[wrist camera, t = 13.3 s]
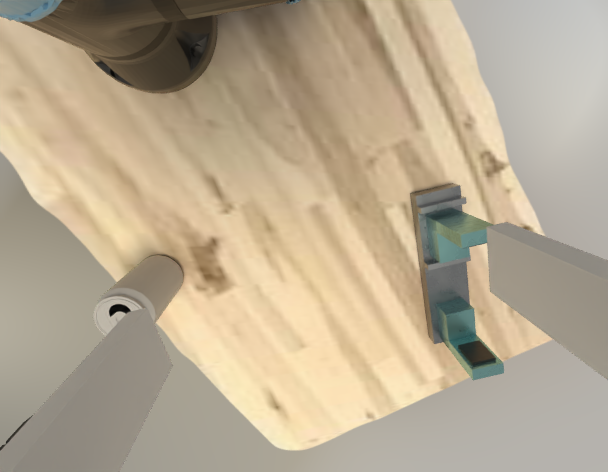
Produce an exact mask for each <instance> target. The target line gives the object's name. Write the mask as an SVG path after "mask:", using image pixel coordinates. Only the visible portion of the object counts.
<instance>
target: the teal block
mask: <svg viewBox="0 0 608 472" xmlns="http://www.w3.org/2000/svg"><path fill="white" fill-rule="evenodd" d="M426 223H427V231H428V240H429V249H430V256H432V257H433V258H434V259H435V260H436V261H438V262H439V263H445V262H449V261H453V260H457V259H462V258H466V257H470V252H469V247H472V246H476V245H480V244H485V243H487V228H486V227H488V226H492V225H493V224H490V223H488V222H486V221H483V220H481V219H478V218H476V217H474V216H471V215H469V214H466V213H464V212H462V211H459V210H457V209H451V210H446V211H442V212H438V213H434V214H430V215H426Z"/></svg>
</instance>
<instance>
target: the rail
mask: <svg viewBox="0 0 608 472" xmlns="http://www.w3.org/2000/svg"><path fill="white" fill-rule="evenodd" d="M410 195H411V203H412V211H413V219H414V226H415V234H416V242H417V249H418V257H419V265H420V272H421V280H422V288H423V295H424V303H425V311H426V318H427V326H428V334H429V337H430V339H431V340H432V341H433V343H434V344H437V343H441V342H444V343H445V344H446V346H447V347H448V348H449V350H450V351H451V352H452V354H453V355H454V356H455V357H456V359H457V360H458V361H459V363H460V364H461V365H462V367H463V368H464V369H465V370H466V372H467V373H468V374H469V376H470V377H471V378H472V380H476V379H480V378H485V377H488V376H493V375H498V374H502V373H504V366H503V362H502V361H501V360H500V359H499V358H498V357H497V356H496V355H495V354H494V353H493V352H492V351H491V350H490V349H489V348H488V347H487V346H486V345H485V343H484V342H483V341H482V340H481V339H480V338H479V337H478V336H477V335H476V330H475V316H474V308H473V307H472V306H471V305H470V303H469V290H468V278H467V265H466V261H471V259H470V257H466V258H462V259H457V260H453V261H449V262H445V263H439V262H438V261H436V260H435V259H434V258H433V257H432V256H430V249H429V240H428V231H427V223H426V215H430V214H434V213H438V212H442V211H446V210H451V209H457V210H459V211H462V204H466V197H462V196H461V190H460V185H457V184H453V183H452V184H448V185H444V186H440V187H436V188H432V189H427V190H423V191H419V192H415V193H411V194H410Z"/></svg>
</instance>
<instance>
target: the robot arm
mask: <svg viewBox="0 0 608 472" xmlns="http://www.w3.org/2000/svg"><path fill="white" fill-rule="evenodd" d="M299 1H301V0H0V17H3V18H7V19H8V20H10V21H11V20H15V21H17V22H21V23H23V24H25V25H28V26H30V27H32V28H35V29H37V30H39V31H42V32H44V33H46V34H49V35H51V36H53V37H56V38H58V39H60V40H63V41H65V42H67V43H70V44H72V45H74V46H76V47H79V48H81V49H83V50H84V51H85V52H86V53H87V54H88V55H89V57H90V58H91V59H92V60H93V61H94V62H95V63H96V65H97V66H98V67H100V68H101V69H102V70H103V71H104V72H105V73H106V74H108V75H109V76H111V77H112V78H114V79H115V80H117V81H118V82H120V83H122V84H124V85H127V86H129V87H132V88H135V89H138V90H141V91H144V92H149V93H170V92H174V91H178V90H180V89H183V88H185V87H187V86H188V85H190V84H191V83H193V82H194V81H195V80H196V79H198V77H199V76H200V75H201V74H202V73H203V72H204V70H205V69H206V68H207V66H208V64H209V62H210V60H211V58H212V55H213V52H214V49H215V45H216V39H217V19H216V14H222V13H227V12H233V11H238V10H244V9H249V8H255V7H260V6H265V5H271V4H276V3H282V2H286V3H287V4H296V3H298V2H299ZM486 228H487V246H488V264H489V282H490V292H491V293H493V294H494V295H495V296H497V297H498V298H499V299H501V300H502V301H503V302H505V303H506V304H507V305H509V306H510V307H511V308H513V309H514V310H515V311H517V312H518V313H519V314H521V315H522V316H523V317H525V318H526V319H527V320H529V321H530V322H531V323H533V324H534V325H535V326H537V327H538V328H539V329H541V330H542V331H543V332H544V333H546V334H547V335H548V336H550V337H551V338H552V339H554V340H555V341H557V342H558V343H559V344H561V345H562V346H563V347H564V348H566V349H567V350H569V351H570V352H571V353H572V354H574V355H575V356H576V357H578V358H579V359H580V360H582V361H583V362H584V363H586V364H587V365H588V366H590V367H591V368H592V369H594V370H595V371H596V372H598V373H599V374H600V375H602V376H603V377H604V378H606V379H607V380H608V260H605V259H603V258H600V257H597V256H595V255H592V254H590V253H587V252H584V251H582V250H579V249H576V248H574V247H571V246H568V245H566V244H563V243H560V242H558V241H555V240H553V239H550V238H547V237H545V236H542V235H539V234H537V233H534V232H532V231H529V230H526V229H524V228H521V227H518V226H516V225H513V224H510V223H508V222H505V223H501V224H497V225H492V226H488V227H486ZM172 366H173V364H172V362H171V360H170V358H169V355H168V353H167V351H166V349H165V346H164V344H163V342H162V340H161V337H160V335H159V334H158V331H157V329H156V326H155V324H154V322H153V319H152V317H151V315H150V313H149V310H148V308H143V309H139V310H135V311H131V312H128V313H127V314H126V315H125V316H124V317H123V318H122V319H121V320H120V321H119V322H118V324H117V325H116V326H115V327H114V328H113V329H112V330H111V331H110V332H109V333H108V334H107V335H106V337H105V338H104V339H103V340H102V341H101V342H100V343H99V344H98V345H97V346H96V347H95V349H94V350H93V351H92V352H91V353H90V354H89V355H88V356H87V357H86V358H85V360H83V362H82V363H81V364H80V365H79V366H78V367H77V368H76V369H75V370H74V371H73V372H72V374H71V375H70V376H69V377H68V378H67V379H66V380H65V381H64V382H63V384H61V386H60V387H59V388H58V389H57V390H56V391H55V392H54V393H53V394H52V395H51V396H50V397H49V399H48V400H47V401H46V402H45V403H44V404H43V405H42V406H41V407H40V408H39V409H38V411H37V412H36V413H35V414H34V415H32V416H31V417H30V418H29V419H27V420H26V421H25V422H24V423H23V424H22V425H21V426H20V427H19V428H18V429H17V430H16V431H15V432H14V433H13V434H12V436H11V437H10V438H9V439H8V440H7V441H6V445H2V446H1V447H0V472H119V471H120V470H121V468H122V466H123V464H124V462H125V460H126V457H127V456H128V454H129V452H130V450H131V448H132V446H133V444H134V442H135V440H136V438H137V436H138V434H139V432H140V430H141V428H142V426H143V424H144V422H145V419H146V418H147V416H148V414H149V412H150V410H151V408H152V406H153V404H154V402H155V400H156V398H157V396H158V394H159V392H160V390H161V388H162V386H163V384H164V382H165V380H166V378H167V376H168V374H169V372H170V370H171V368H172Z"/></svg>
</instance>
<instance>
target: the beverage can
mask: <svg viewBox="0 0 608 472" xmlns="http://www.w3.org/2000/svg"><path fill="white" fill-rule="evenodd" d="M182 283H183V273H182V270H181V268H180V266H179V265H178V264H177V263H176V262H175V261H174V260H172V259H170V258H168V257H166V256H161V255H155V256H150V257H148V258H146V259H144V260H143V261H142V262H141V263H140V264H138V265H137V266H136V267H135V268H134V269H132V270H131V271H130V272H129V273H128V274H127V275H125V276H124V277H123V278H122V279H121V280H120V281H118V282H117V283H116V284H115V285H114V286H113V287H112V288H110V289H109V290H108V291H107V292H106V293H104V294H103V295H102V296H101V298H100V299H99V301H98V304H97V306H96V308H95V310H94V315H93V317H94V322H95V325H96V326H97V328H98V329H99V331H100V332H101V333H102V334H104V335H105V336H106V335H107V334H108V333H109V332H110V331H111V330H112V329H113V328H114V327H115V326H116V325H117V324H118V322H119V321H120V320H121V319H122V318H123V317H124V316H125V315H126V314H127V313H128V312H131V311H135V310H139V309H143V308H148V310H149V313H150V315H151V317H152V319H153V322H154V324H155V323H156V321H157V320H158V318H159V317H160V316H161V314H162V313H163V311H164V310H165V309H166V307H167V306H168V304H169V303H170V302H171V300H172V299H173V297H174V296H175V295H176V293H177V292H178V290H179V289H180V287H181V286H182Z"/></svg>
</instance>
